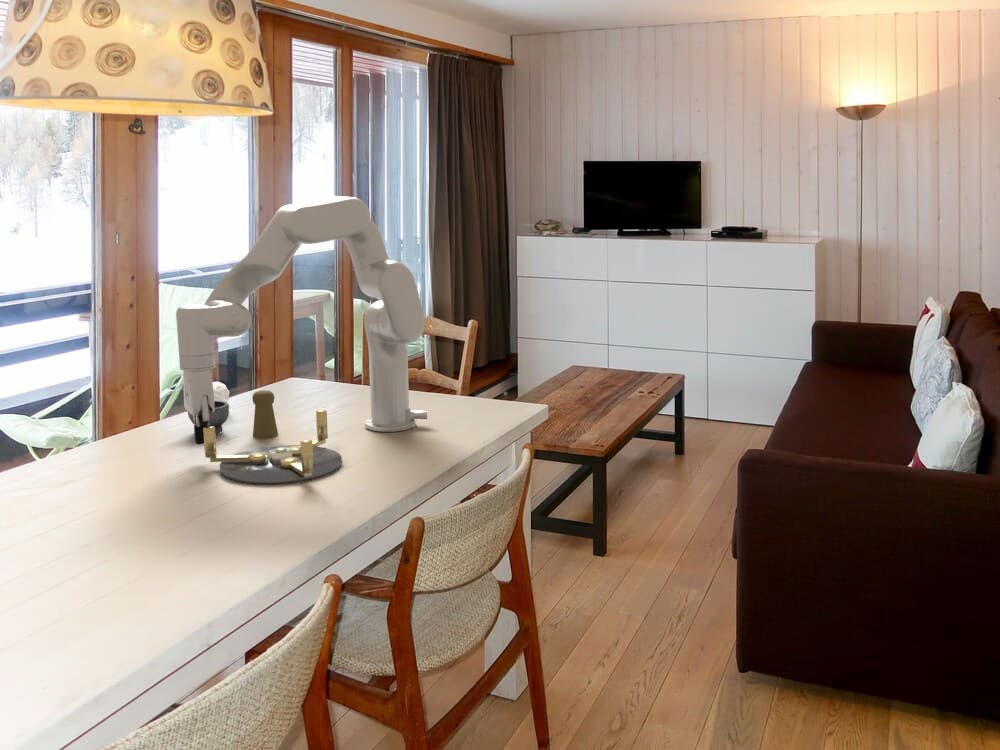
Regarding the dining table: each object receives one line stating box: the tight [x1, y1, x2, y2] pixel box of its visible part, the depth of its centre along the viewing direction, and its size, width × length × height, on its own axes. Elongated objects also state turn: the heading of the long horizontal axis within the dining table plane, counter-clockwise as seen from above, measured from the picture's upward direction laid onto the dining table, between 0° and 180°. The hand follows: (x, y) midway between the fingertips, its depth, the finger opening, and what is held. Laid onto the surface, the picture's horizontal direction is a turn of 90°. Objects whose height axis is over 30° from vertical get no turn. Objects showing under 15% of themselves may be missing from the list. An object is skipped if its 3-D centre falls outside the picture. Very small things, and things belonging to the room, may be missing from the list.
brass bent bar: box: [289, 409, 329, 457], centre depth 230 cm, size 13×4×8 cm, turn 153°
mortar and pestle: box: [179, 387, 230, 435], centre depth 250 cm, size 11×9×12 cm
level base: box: [219, 444, 343, 486], centre depth 222 cm, size 26×26×4 cm
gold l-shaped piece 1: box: [203, 426, 267, 463], centre depth 221 cm, size 13×4×8 cm, turn 93°
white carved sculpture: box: [213, 381, 230, 403], centre depth 266 cm, size 6×8×12 cm
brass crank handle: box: [280, 439, 314, 477], centre depth 213 cm, size 13×4×8 cm, turn 33°
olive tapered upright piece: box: [251, 389, 279, 439], centre depth 247 cm, size 6×6×11 cm
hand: (203, 442), depth 227 cm, fingers closed
